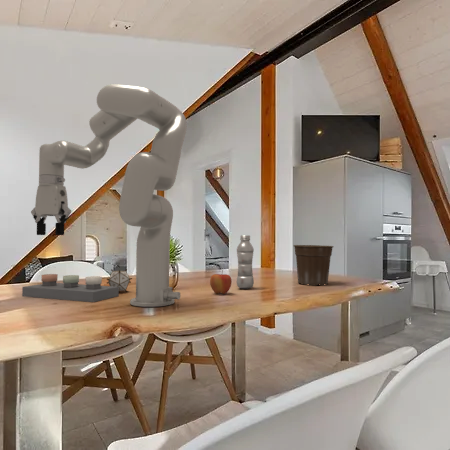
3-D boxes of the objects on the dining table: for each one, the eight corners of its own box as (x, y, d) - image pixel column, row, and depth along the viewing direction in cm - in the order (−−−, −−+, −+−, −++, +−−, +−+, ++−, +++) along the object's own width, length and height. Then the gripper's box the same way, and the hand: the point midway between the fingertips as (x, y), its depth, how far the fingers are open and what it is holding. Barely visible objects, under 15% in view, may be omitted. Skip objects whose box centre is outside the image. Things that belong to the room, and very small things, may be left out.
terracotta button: (60, 288, 123) (60, 274, 124) (49, 290, 119) (49, 275, 119) (49, 287, 125) (49, 273, 125) (37, 289, 121) (38, 275, 121)
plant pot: (336, 282, 158) (336, 245, 158) (330, 287, 143) (330, 246, 144) (298, 280, 164) (298, 244, 165) (289, 285, 150) (289, 245, 150)
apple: (207, 295, 123) (207, 271, 123) (213, 292, 130) (213, 269, 130) (228, 296, 121) (228, 271, 121) (233, 293, 128) (233, 269, 128)
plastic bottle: (256, 288, 139) (257, 235, 140) (248, 290, 133) (248, 235, 134) (242, 287, 143) (242, 235, 143) (233, 289, 137) (233, 235, 138)
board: (118, 296, 120) (118, 286, 120) (93, 302, 108) (93, 291, 108) (51, 291, 129) (52, 282, 129) (22, 296, 118) (22, 286, 118)
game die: (121, 303, 126) (122, 282, 121) (100, 294, 128) (100, 272, 122) (135, 288, 134) (137, 267, 128) (115, 279, 135) (116, 258, 130)
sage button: (82, 289, 120) (82, 275, 120) (71, 291, 116) (71, 277, 116) (70, 288, 122) (70, 274, 122) (59, 290, 117) (59, 276, 118)
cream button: (104, 291, 117) (105, 276, 117) (94, 293, 113) (94, 278, 113) (92, 290, 119) (92, 276, 119) (81, 292, 114) (82, 277, 114)
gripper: (80, 182, 124) (79, 235, 123) (40, 184, 130) (39, 235, 129) (63, 179, 117) (62, 235, 116) (22, 181, 123) (21, 234, 122)
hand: (50, 234), depth 123 cm, fingers open, 7 cm apart
